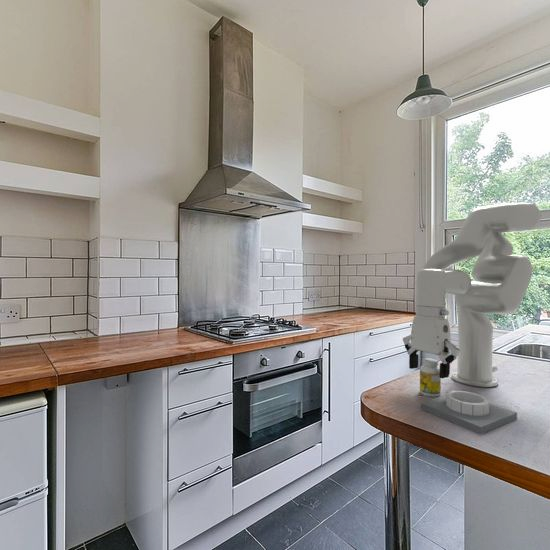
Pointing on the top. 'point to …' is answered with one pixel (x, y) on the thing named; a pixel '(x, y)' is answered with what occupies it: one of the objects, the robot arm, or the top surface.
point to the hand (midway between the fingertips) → (428, 372)
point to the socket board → (469, 419)
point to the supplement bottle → (430, 378)
